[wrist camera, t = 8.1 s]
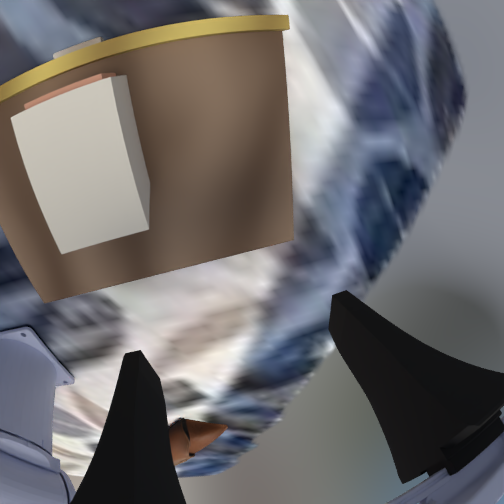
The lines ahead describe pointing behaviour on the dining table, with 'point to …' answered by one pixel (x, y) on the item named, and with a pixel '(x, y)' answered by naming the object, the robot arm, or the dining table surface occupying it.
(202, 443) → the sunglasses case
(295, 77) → the dining table surface
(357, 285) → the dining table surface
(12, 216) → the shelf board
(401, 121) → the dining table surface
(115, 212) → the carton
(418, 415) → the robot arm
